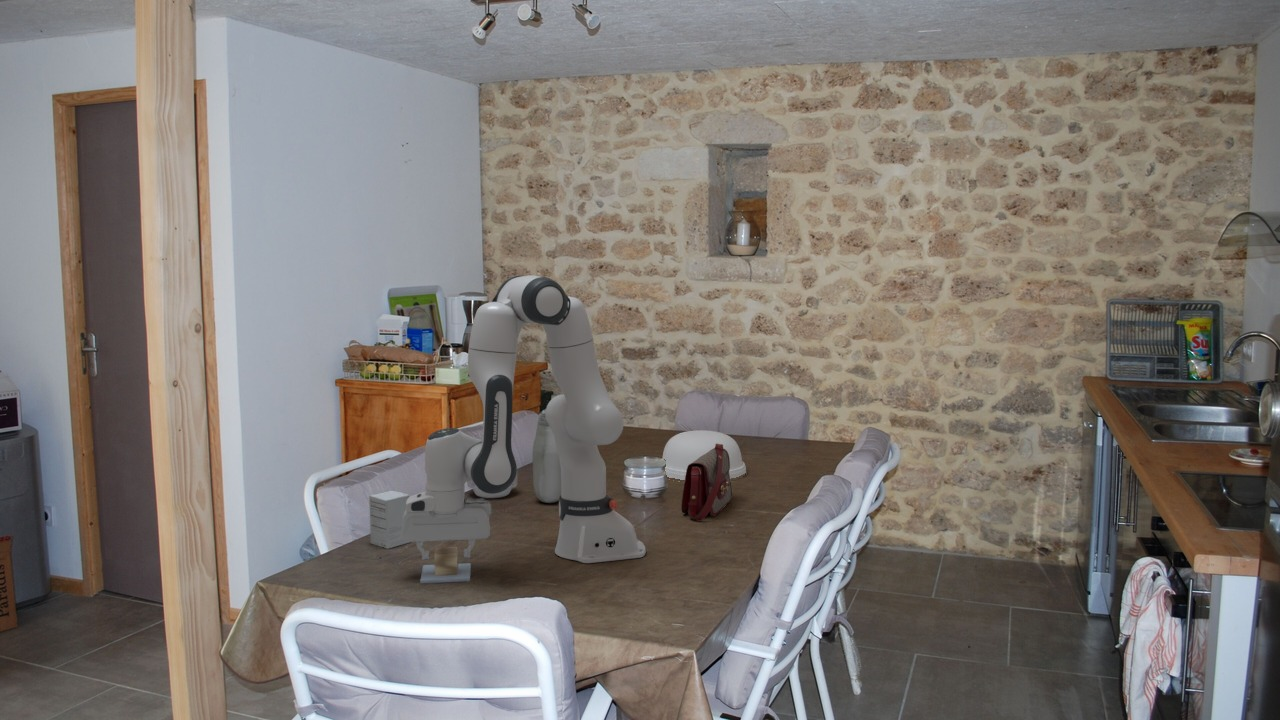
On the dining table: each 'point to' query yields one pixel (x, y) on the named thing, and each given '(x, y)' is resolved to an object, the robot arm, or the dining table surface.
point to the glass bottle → (546, 463)
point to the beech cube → (446, 561)
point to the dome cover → (699, 452)
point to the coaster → (430, 577)
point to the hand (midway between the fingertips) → (446, 558)
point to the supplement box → (387, 518)
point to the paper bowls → (488, 495)
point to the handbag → (707, 484)
